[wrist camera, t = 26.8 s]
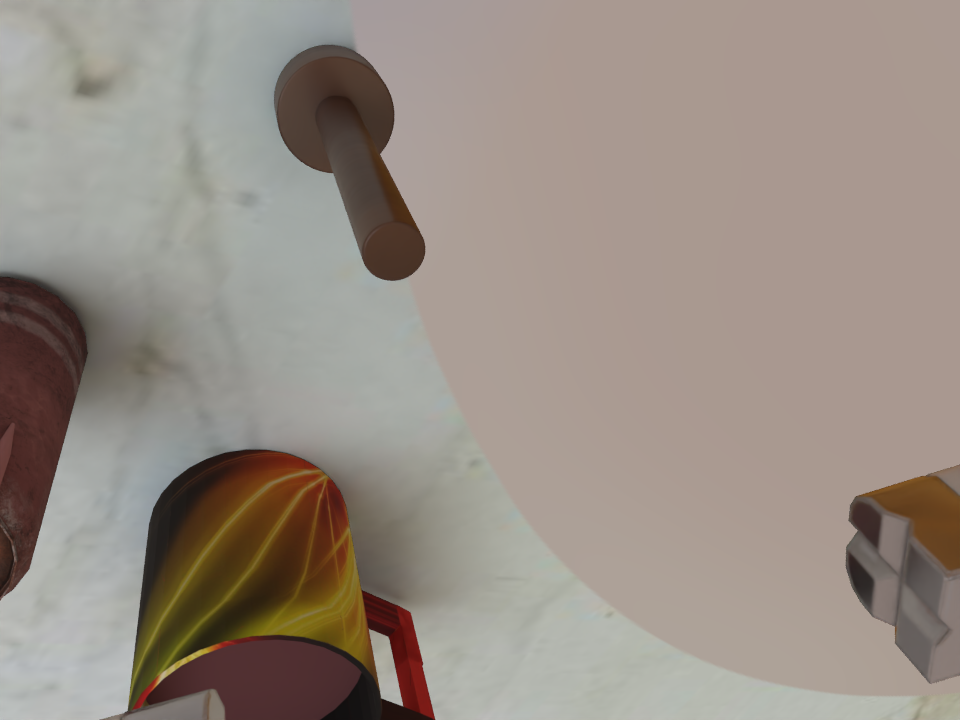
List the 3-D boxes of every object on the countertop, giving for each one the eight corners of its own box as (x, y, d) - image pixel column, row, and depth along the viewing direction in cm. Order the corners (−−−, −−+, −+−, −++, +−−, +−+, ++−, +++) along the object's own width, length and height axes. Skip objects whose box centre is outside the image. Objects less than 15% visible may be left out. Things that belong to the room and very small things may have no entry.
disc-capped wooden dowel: (260, 57, 35) (283, 189, 21) (372, 34, 35) (465, 147, 22) (290, 166, 37) (328, 349, 23) (394, 143, 37) (491, 307, 24)
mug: (403, 608, 50) (448, 800, 40) (139, 600, 45) (113, 815, 35) (445, 465, 46) (507, 638, 36) (160, 440, 41) (138, 632, 31)
